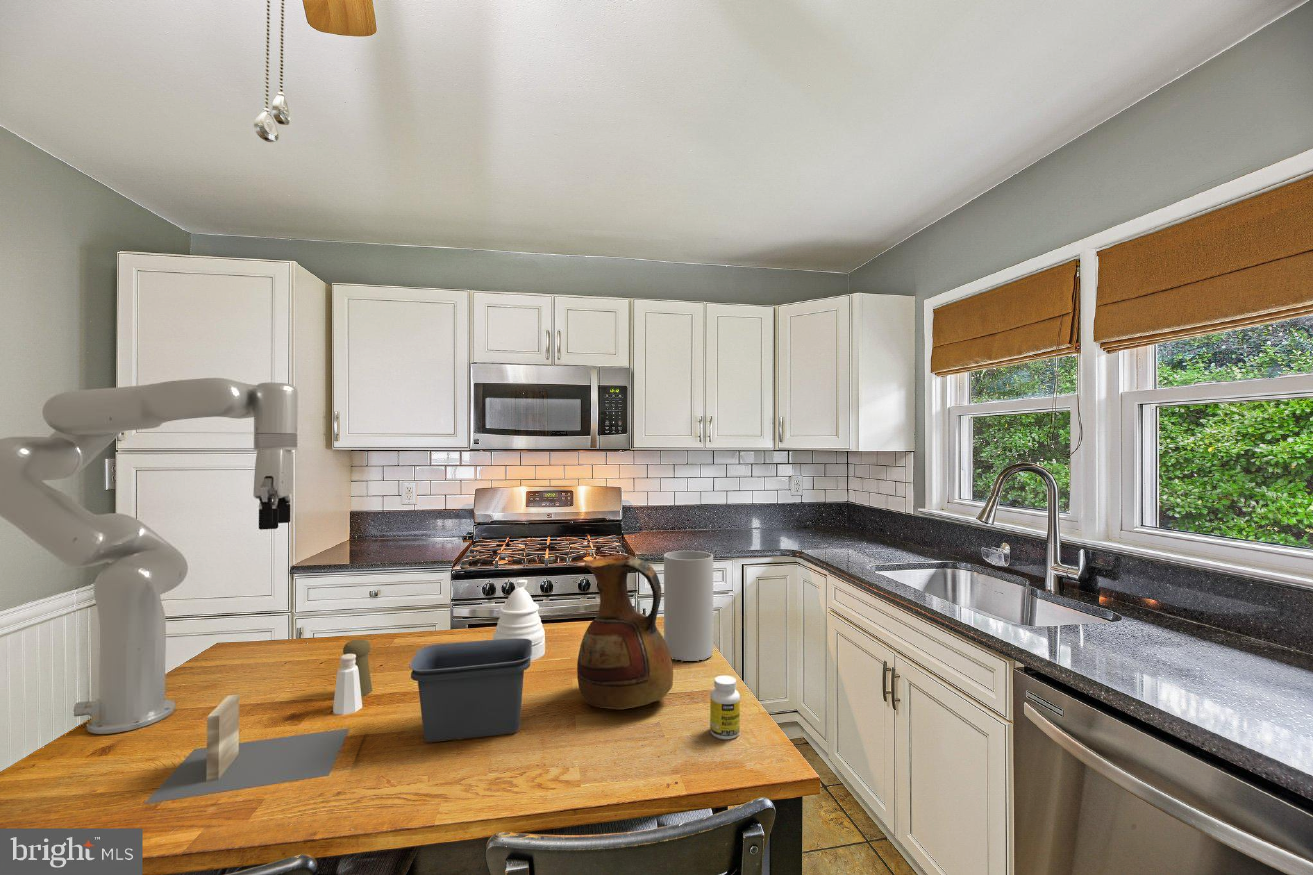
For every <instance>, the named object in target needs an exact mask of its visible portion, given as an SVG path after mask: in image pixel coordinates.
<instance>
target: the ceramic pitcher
mask: <svg viewBox="0 0 1313 875" xmlns="http://www.w3.org/2000/svg"><path fill="white" fill-rule="evenodd" d="M584 567H586V569H587V570H589V571H590V572H591V573H592V575H593V576H594V577H595V580H596V583H597V589H598V593H599V609H598V614H597V615H596V617H595V618H594V619H593V620H592V621H591V622H590V623H589V625H588V626H587V629H586V630H585V632H584V635H583V636H582V639H581V643H580V647H579V652H578V656H577V664H576V666H577V667H576V669H577V670H576V672H577V673H576V676H577V683H578V684H577V685H578V690H579V693H580V695H581V697H582V699H583V701H585V703H587V704H589V705H590V706H592V707H596V708H601V709H612V710H613V709H615V710H626V709H630V708H632V709H633V708H636V707H641V706H645V705H649V704H651V703H653V702H658V701H661V699H663V698H664V697H665V696H667V695H668V693H670V691H671V690H672V688H673V686H674V666H673V661H672V659H671V656H670V652H669V649H668V647H667V644H666V642H665V640H664V636H663V635H662V633H661V632H660V630H659V629H658V627H657V625H656V624H657V623H656V621H657V616H658V613H659V608H660V604H661V602H662V601H661V599H662V586H661V582H660V579H659V575H658V573H657V572H656V570H655V569H654V568H653V567H652V566H651V565H650V564H649V563H648V562H646V561H645V560H643V559H640V558H637V557H635V556H634V555H630V554H625V555H621V554H617V555H608V556H601V557H599V558H594V559H589V560H587V561H585V562H584ZM630 570H633V571H635V572H638V573H639V574H640V575H642V576H643V577H644V579H646V580H647V582H648V584H649V585H650V589H651V592H652V605H651V610H650V612H649V614H648V615H645V614H643V613H640V612H639V611H637V609H635V608H634V606H633V604H632V601H631V600H630V595H629V592H628V591H629V590H628V581H627V580H628V574H629V571H630Z"/></svg>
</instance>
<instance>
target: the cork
mask: <svg viewBox="0 0 1313 875" xmlns="http://www.w3.org/2000/svg"><path fill="white" fill-rule="evenodd" d="M370 652H371V644H370V642H369V641H368V640H367V639H362V638H361V639H360V638H359V639H354V640H351V641H348V642H346V643H345V644H344V646H343V648H342V654H343V655H345V654H355V655H356V658H355V665H356V666H357V667H358V671H359V680H360V689H361V698H362V697H366V696H368V695H369V694H371V692H372V691H373V687H372V686H373V685H372V679H371V678H372V677H371V673H370V666H369V658H368V655H369V653H370Z"/></svg>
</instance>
